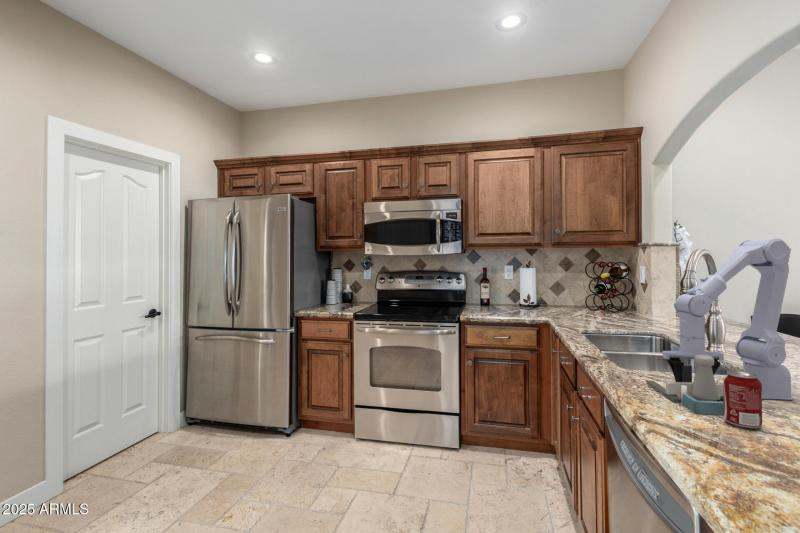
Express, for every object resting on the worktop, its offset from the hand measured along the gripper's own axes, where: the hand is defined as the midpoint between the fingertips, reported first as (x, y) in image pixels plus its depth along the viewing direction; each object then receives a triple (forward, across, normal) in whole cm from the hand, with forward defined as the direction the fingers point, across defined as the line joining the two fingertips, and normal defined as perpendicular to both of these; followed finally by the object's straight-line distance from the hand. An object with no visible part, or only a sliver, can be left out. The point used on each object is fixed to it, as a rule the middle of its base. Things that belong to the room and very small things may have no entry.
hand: (692, 384), depth 110 cm
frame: (+3, 0, +10) cm, 11 cm away
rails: (+3, 0, -2) cm, 4 cm away
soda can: (+4, -1, +19) cm, 19 cm away
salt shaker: (+4, 0, +6) cm, 7 cm away
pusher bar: (+3, 0, -1) cm, 3 cm away
